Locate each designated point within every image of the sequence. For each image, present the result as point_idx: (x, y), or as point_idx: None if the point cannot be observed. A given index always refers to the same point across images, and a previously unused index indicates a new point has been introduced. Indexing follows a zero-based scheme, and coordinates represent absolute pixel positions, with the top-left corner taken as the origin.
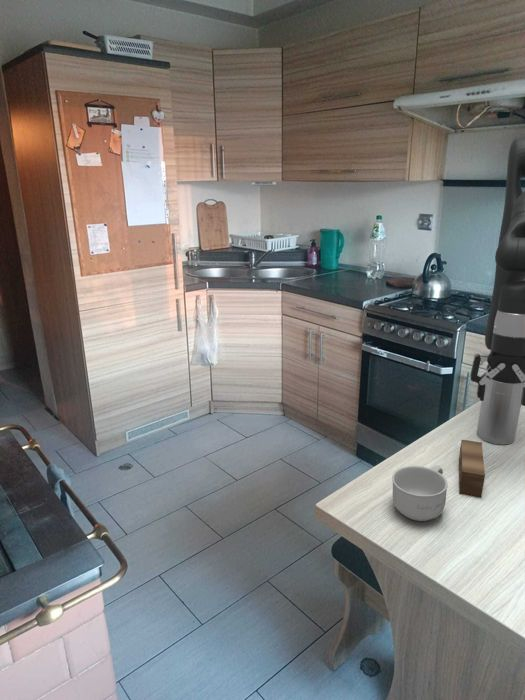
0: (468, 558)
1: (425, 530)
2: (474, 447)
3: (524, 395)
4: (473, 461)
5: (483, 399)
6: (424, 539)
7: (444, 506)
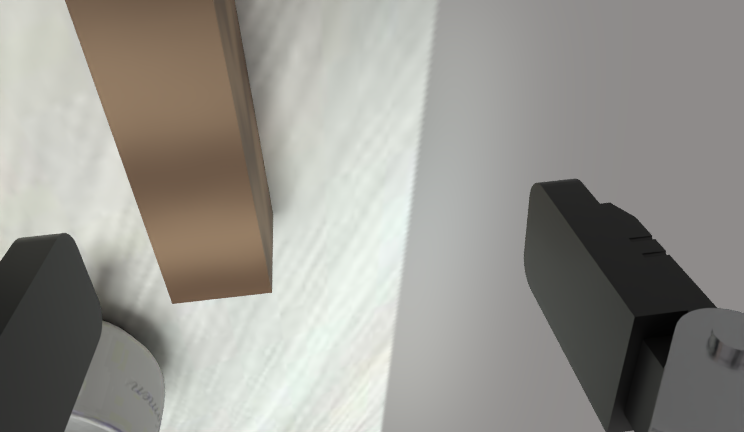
0: (268, 427)
1: None
2: (175, 70)
3: (581, 371)
4: (202, 213)
5: (96, 340)
6: None
7: (164, 395)
